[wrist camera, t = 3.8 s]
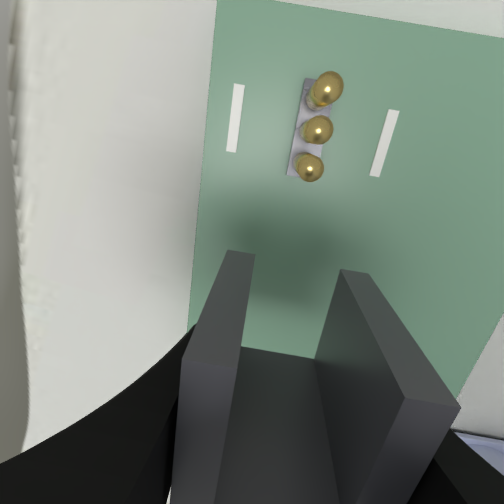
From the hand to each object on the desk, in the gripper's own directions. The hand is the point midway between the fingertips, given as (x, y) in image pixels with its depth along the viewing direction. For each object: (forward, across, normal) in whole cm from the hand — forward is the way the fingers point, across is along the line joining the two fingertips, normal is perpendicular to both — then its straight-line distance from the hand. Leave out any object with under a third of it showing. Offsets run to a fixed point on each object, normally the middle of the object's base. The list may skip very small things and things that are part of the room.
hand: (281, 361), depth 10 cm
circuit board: (+8, -4, -2) cm, 10 cm away
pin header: (+7, 0, -8) cm, 11 cm away
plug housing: (+1, 0, 0) cm, 1 cm away
